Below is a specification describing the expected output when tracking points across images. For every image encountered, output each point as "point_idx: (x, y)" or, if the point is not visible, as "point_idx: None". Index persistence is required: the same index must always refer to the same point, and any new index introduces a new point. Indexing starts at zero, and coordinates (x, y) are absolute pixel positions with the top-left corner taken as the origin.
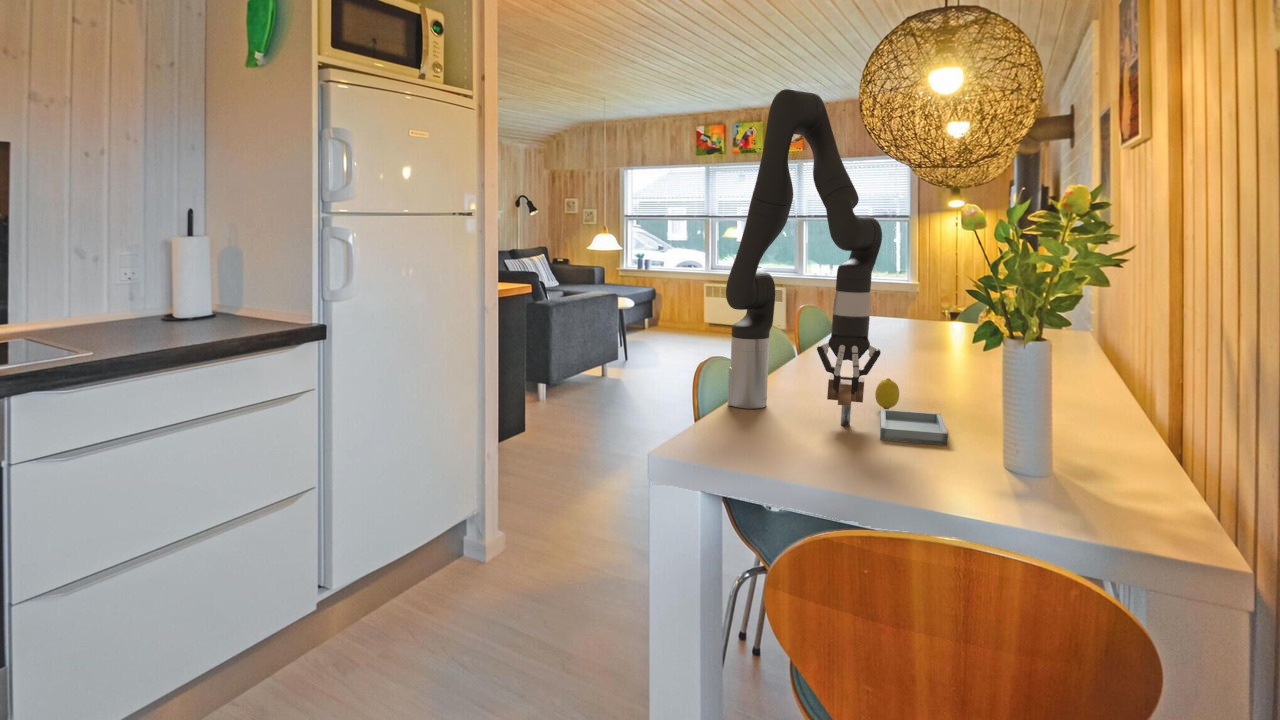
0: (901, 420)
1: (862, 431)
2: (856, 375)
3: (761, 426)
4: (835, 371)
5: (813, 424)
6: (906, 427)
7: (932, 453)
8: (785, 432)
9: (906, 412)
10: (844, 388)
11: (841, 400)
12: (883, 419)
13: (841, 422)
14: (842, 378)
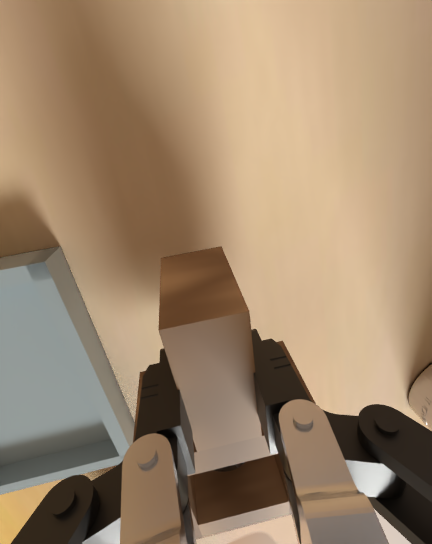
0: (72, 433)
1: (144, 309)
2: (144, 447)
3: (427, 210)
4: (320, 428)
5: (287, 307)
6: (29, 382)
7: None
8: (358, 177)
9: (61, 469)
10: (205, 301)
11: (207, 260)
12: (85, 370)
13: None
14: (261, 499)
